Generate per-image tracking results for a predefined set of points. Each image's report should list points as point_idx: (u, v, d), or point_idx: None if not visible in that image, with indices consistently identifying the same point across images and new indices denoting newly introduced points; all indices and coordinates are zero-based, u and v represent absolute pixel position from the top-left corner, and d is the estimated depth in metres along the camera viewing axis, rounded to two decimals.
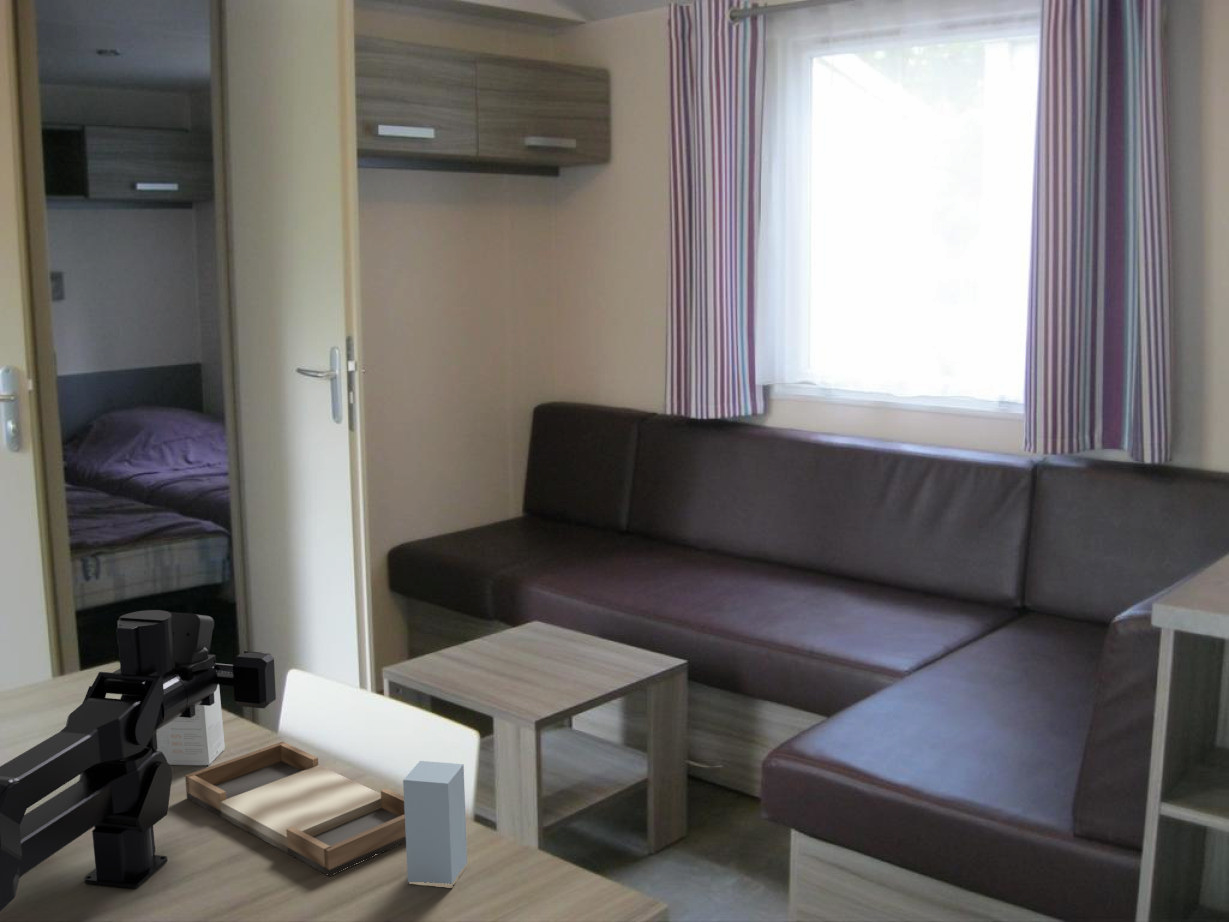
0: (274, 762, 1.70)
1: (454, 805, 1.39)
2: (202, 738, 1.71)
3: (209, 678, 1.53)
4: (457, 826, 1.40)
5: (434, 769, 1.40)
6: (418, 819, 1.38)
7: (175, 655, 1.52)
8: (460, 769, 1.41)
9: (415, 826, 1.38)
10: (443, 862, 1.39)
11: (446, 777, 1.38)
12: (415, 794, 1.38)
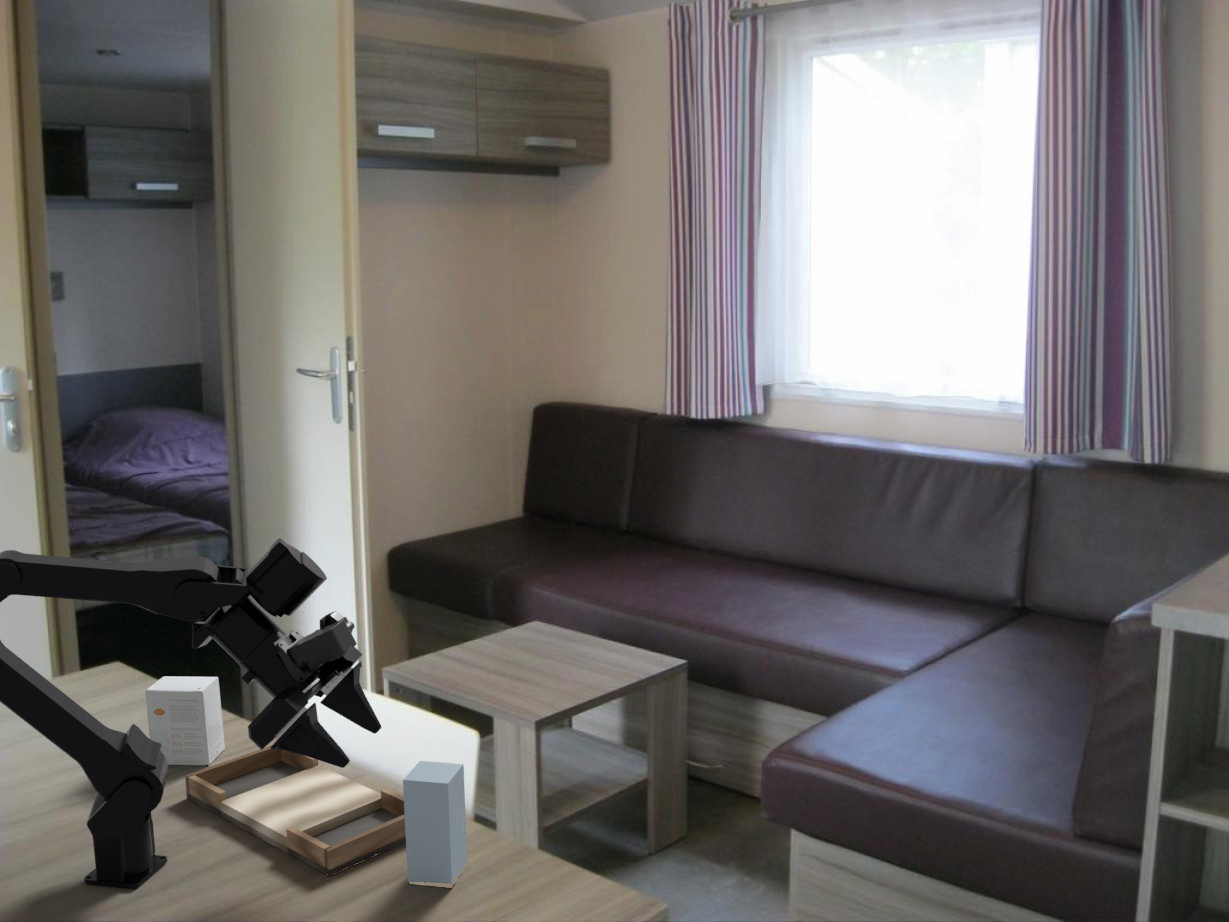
0: (274, 762, 1.70)
1: (454, 805, 1.39)
2: (202, 738, 1.71)
3: (284, 682, 1.39)
4: (457, 826, 1.40)
5: (434, 769, 1.40)
6: (418, 819, 1.38)
7: (301, 640, 1.41)
8: (460, 769, 1.41)
9: (415, 826, 1.38)
10: (443, 862, 1.39)
11: (446, 777, 1.38)
12: (415, 794, 1.38)
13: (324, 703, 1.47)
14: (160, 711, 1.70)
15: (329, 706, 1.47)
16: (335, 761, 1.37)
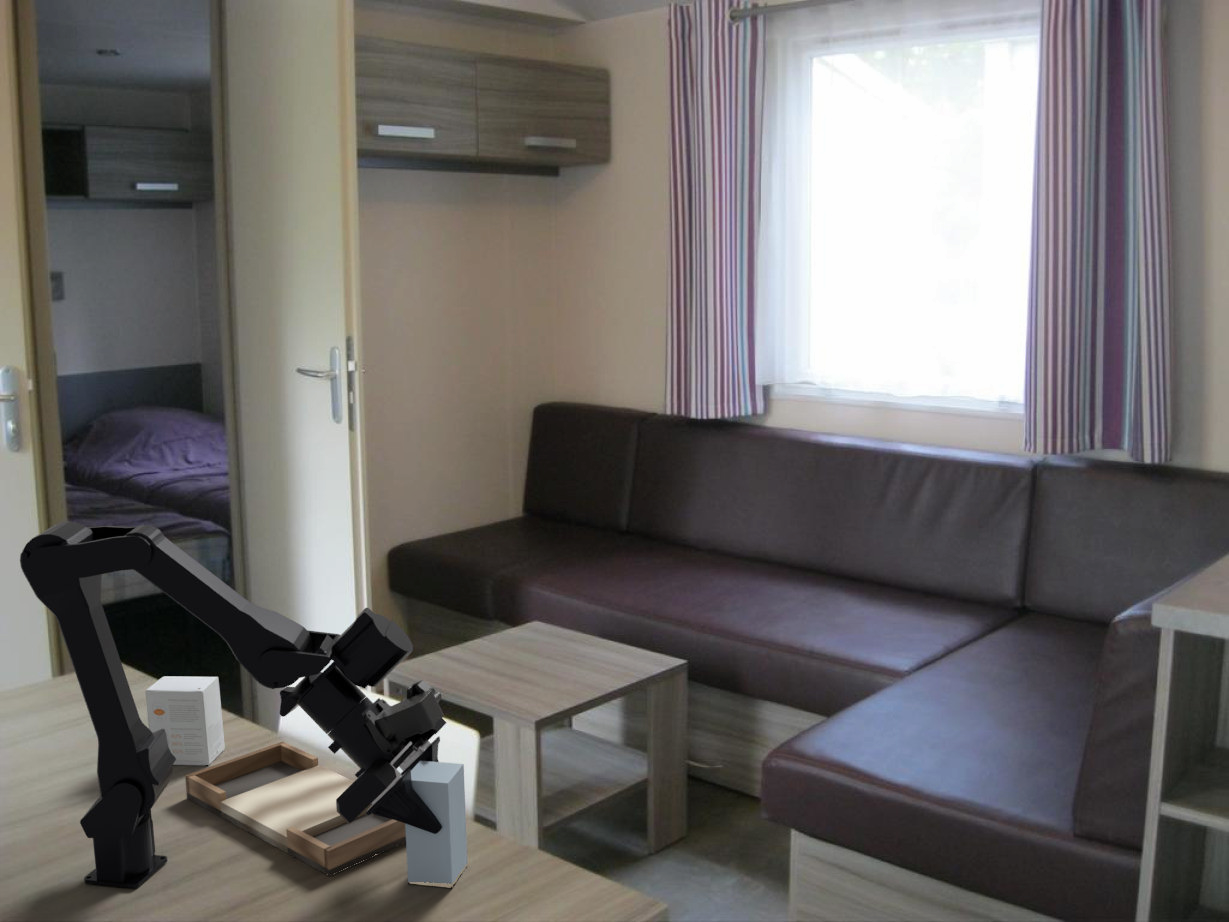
0: (274, 762, 1.70)
1: (455, 805, 1.39)
2: (202, 738, 1.71)
3: (371, 753, 1.38)
4: (457, 826, 1.40)
5: (434, 769, 1.40)
6: None
7: (388, 710, 1.40)
8: (460, 769, 1.41)
9: None
10: (443, 862, 1.39)
11: (446, 777, 1.38)
12: None
13: None
14: (160, 711, 1.70)
15: None
16: (428, 827, 1.37)
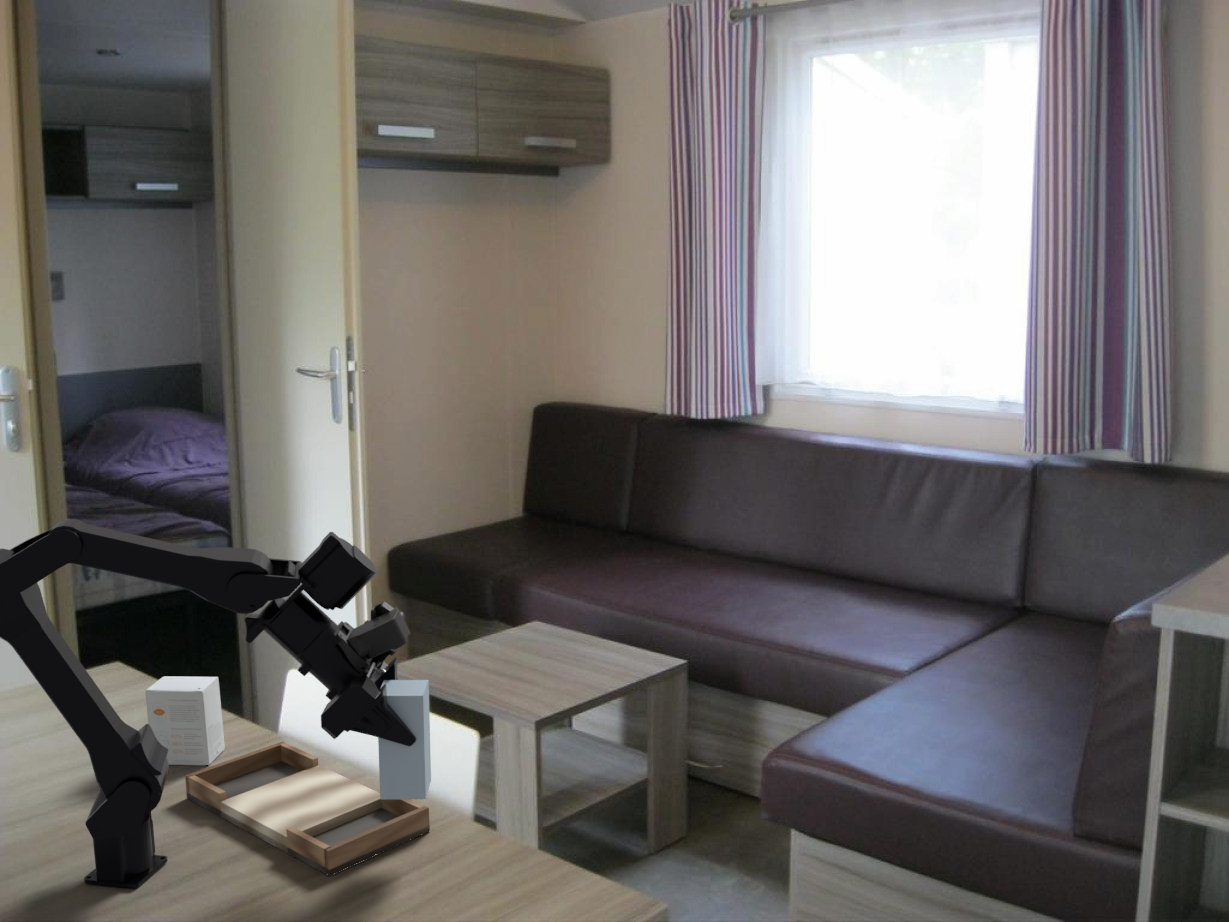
0: (274, 762, 1.70)
1: (425, 718, 1.44)
2: (202, 738, 1.71)
3: (344, 672, 1.41)
4: (427, 739, 1.45)
5: (403, 685, 1.45)
6: None
7: (356, 630, 1.43)
8: (427, 684, 1.46)
9: (389, 741, 1.42)
10: (417, 773, 1.43)
11: (418, 691, 1.43)
12: None
13: None
14: (160, 711, 1.70)
15: None
16: (403, 740, 1.42)
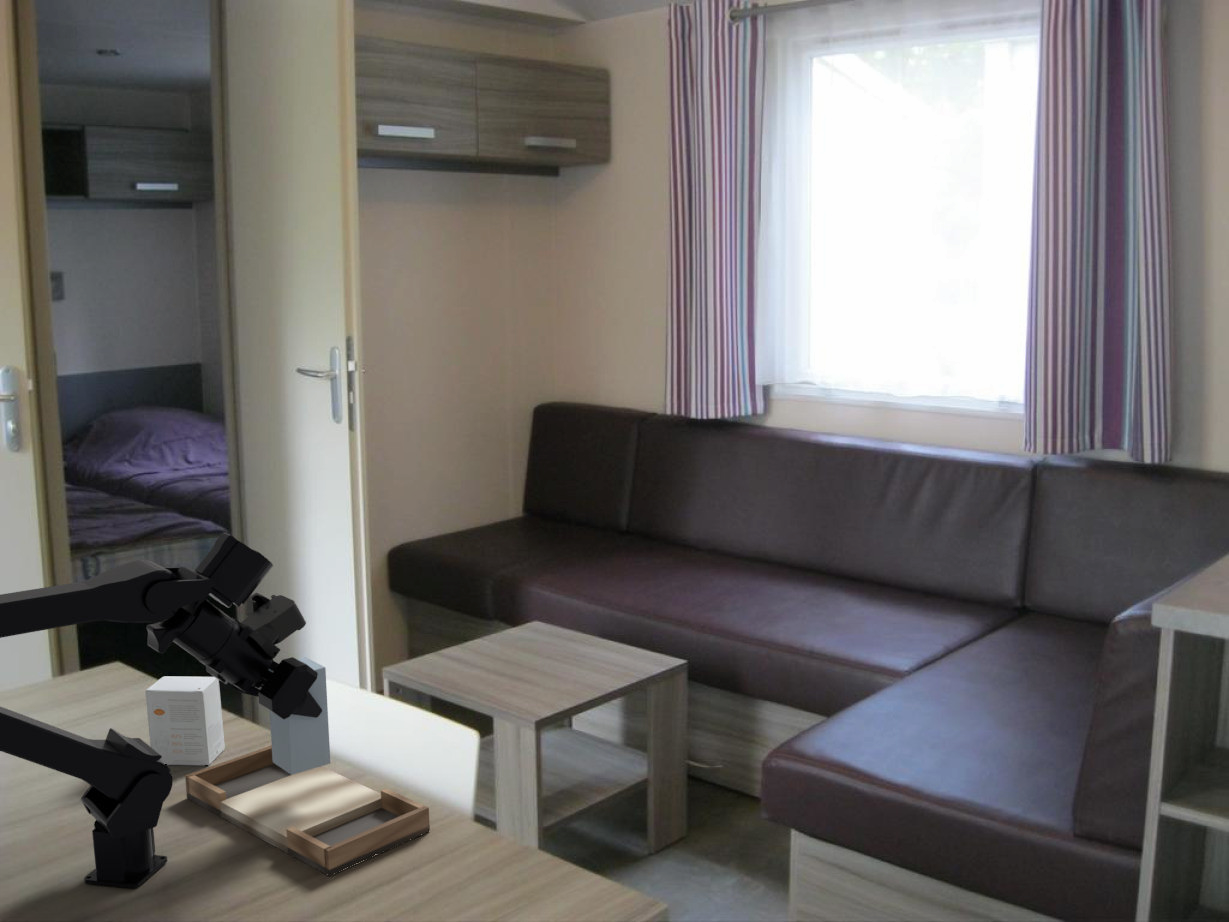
0: None
1: None
2: (202, 738, 1.71)
3: (258, 661, 1.47)
4: None
5: None
6: None
7: (252, 622, 1.49)
8: (309, 660, 1.56)
9: (298, 717, 1.52)
10: (322, 741, 1.54)
11: (314, 665, 1.54)
12: None
13: None
14: (160, 711, 1.70)
15: (250, 692, 1.53)
16: (313, 713, 1.52)
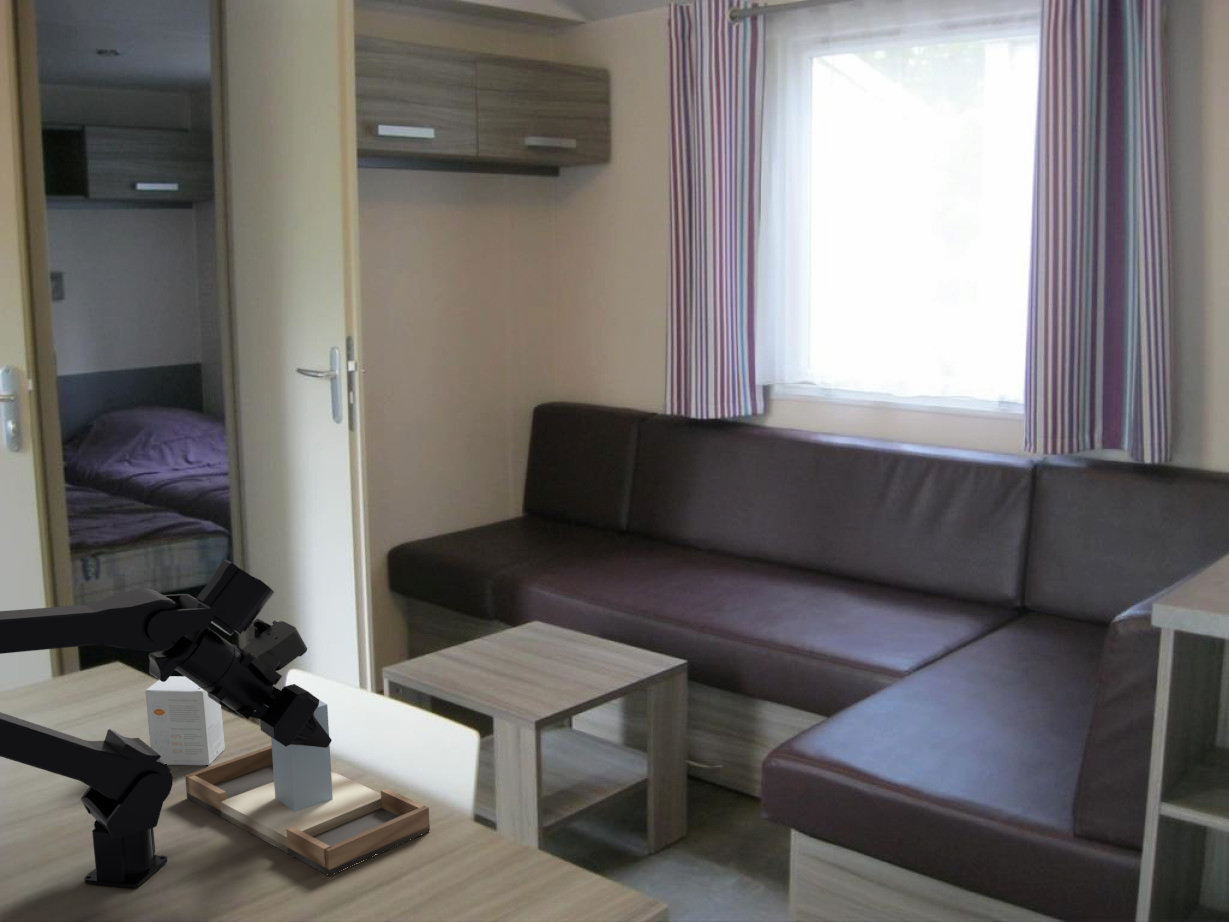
0: None
1: None
2: (202, 738, 1.71)
3: (259, 687, 1.48)
4: None
5: None
6: (302, 746, 1.53)
7: (253, 648, 1.50)
8: None
9: (300, 754, 1.53)
10: (324, 778, 1.55)
11: None
12: None
13: None
14: (160, 711, 1.70)
15: None
16: (322, 743, 1.51)
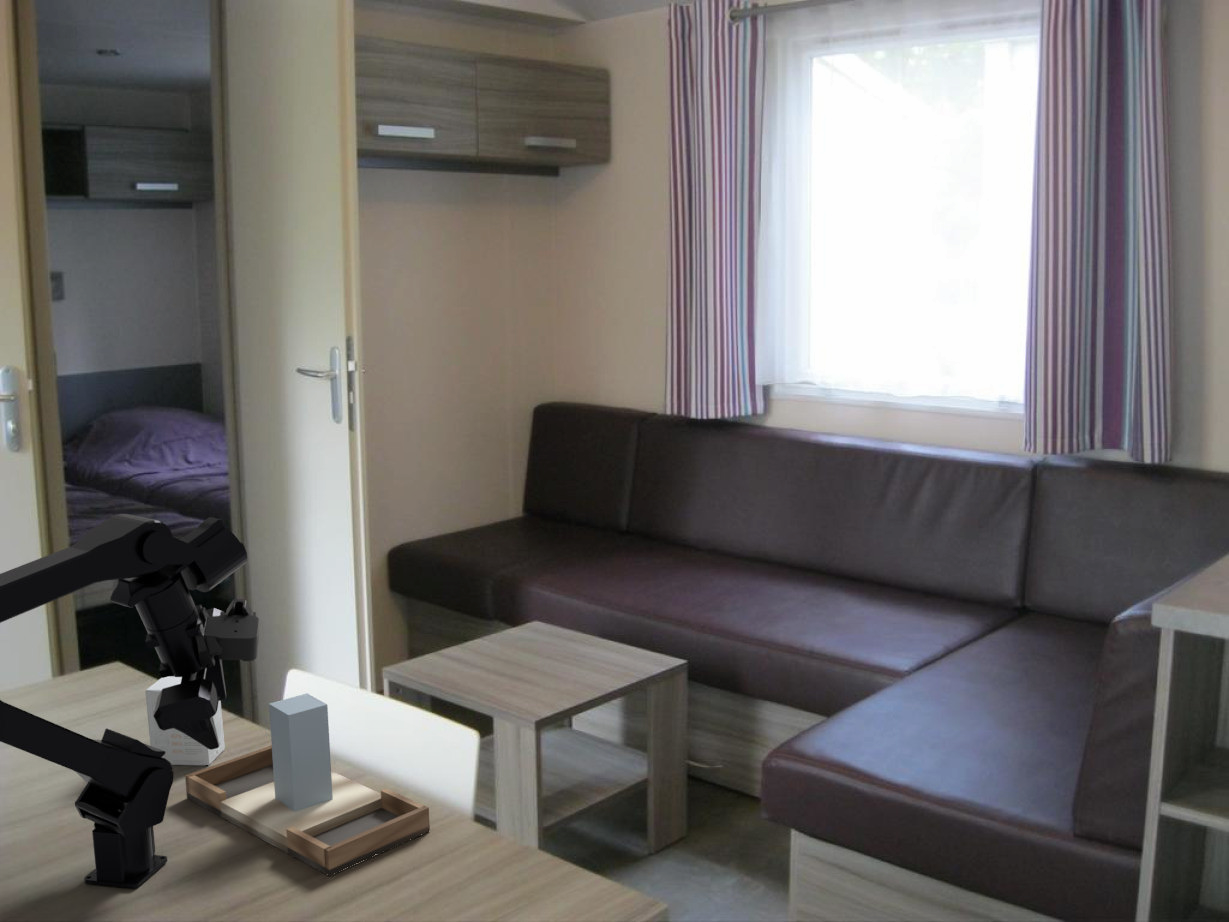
0: None
1: None
2: None
3: (188, 661, 1.45)
4: None
5: (294, 702, 1.55)
6: (302, 746, 1.53)
7: (213, 624, 1.47)
8: (310, 696, 1.57)
9: (300, 754, 1.53)
10: (324, 778, 1.55)
11: (315, 702, 1.55)
12: (299, 724, 1.52)
13: None
14: None
15: None
16: (207, 744, 1.47)
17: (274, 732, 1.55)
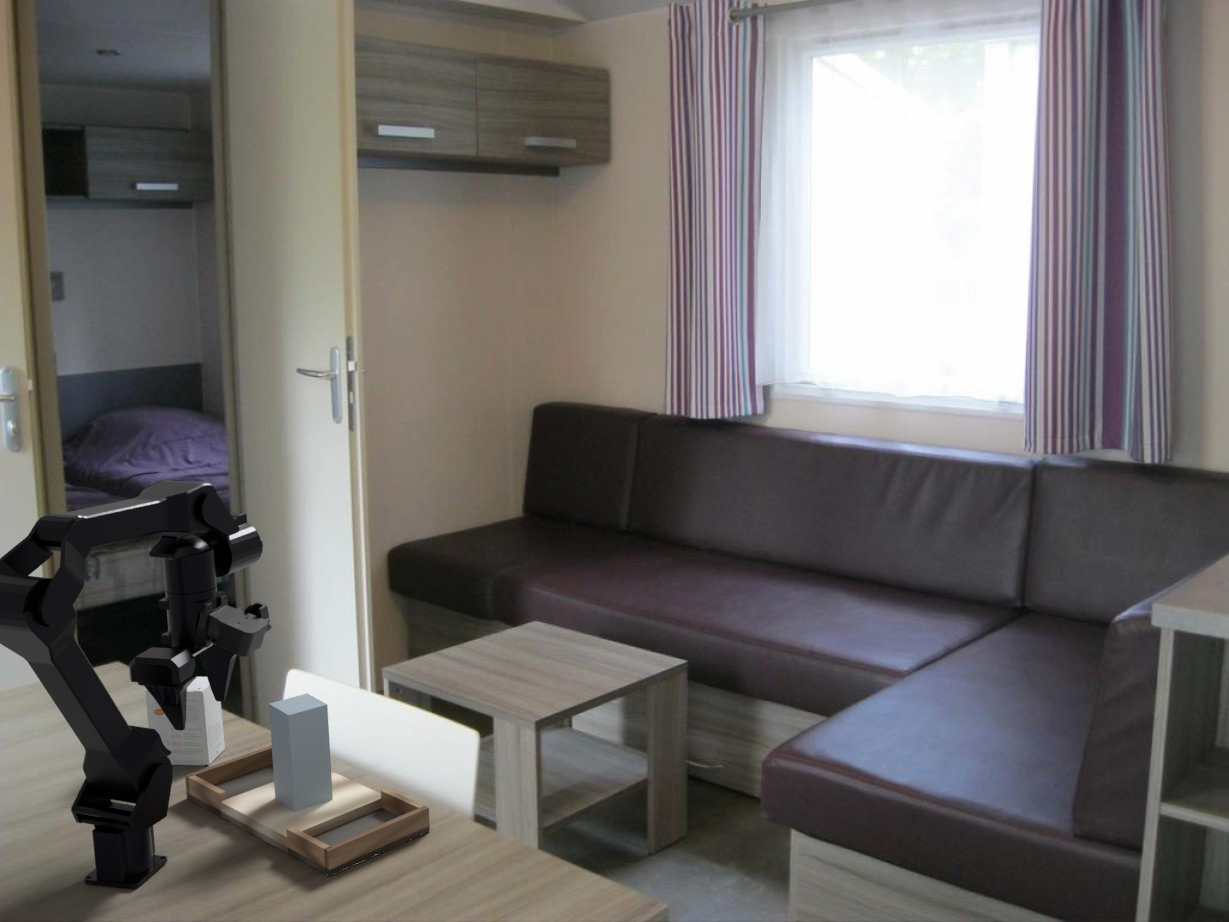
0: None
1: None
2: (202, 738, 1.71)
3: (186, 634, 1.49)
4: None
5: (294, 702, 1.55)
6: (302, 746, 1.53)
7: (224, 611, 1.51)
8: (310, 696, 1.57)
9: (300, 754, 1.53)
10: (324, 778, 1.55)
11: (315, 702, 1.55)
12: (299, 724, 1.52)
13: None
14: (160, 711, 1.70)
15: (200, 652, 1.58)
16: (174, 722, 1.49)
17: (274, 732, 1.55)
